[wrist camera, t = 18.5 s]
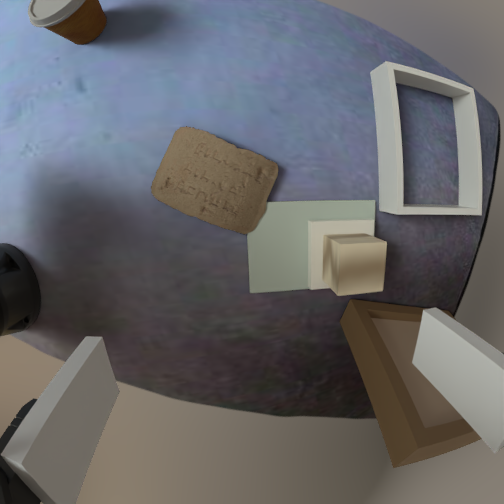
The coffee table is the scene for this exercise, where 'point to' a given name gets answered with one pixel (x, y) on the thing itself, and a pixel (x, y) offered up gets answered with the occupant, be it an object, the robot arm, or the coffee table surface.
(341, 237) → the block
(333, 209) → the mat
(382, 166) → the white open rectangular frame
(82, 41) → the disposable coffee cup
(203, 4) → the coffee table surface
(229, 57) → the coffee table surface
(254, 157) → the clay tablet
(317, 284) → the tile
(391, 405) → the photo frame
